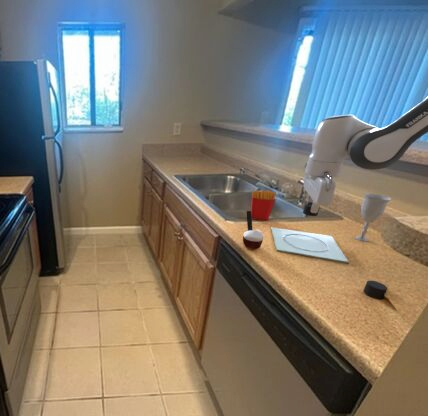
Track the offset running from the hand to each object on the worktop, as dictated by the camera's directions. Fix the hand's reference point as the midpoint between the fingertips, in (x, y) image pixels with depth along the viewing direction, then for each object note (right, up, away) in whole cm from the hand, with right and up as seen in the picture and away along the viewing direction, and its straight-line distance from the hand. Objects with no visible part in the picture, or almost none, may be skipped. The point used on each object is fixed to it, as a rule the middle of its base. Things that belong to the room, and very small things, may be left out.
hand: (311, 209), depth 91 cm
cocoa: (-16, -14, +8) cm, 23 cm away
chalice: (+24, -13, +8) cm, 28 cm away
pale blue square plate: (+4, -13, +9) cm, 16 cm away
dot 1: (0, -1, +1) cm, 2 cm away
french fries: (0, -4, +31) cm, 32 cm away
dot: (+3, -23, -18) cm, 29 cm away
